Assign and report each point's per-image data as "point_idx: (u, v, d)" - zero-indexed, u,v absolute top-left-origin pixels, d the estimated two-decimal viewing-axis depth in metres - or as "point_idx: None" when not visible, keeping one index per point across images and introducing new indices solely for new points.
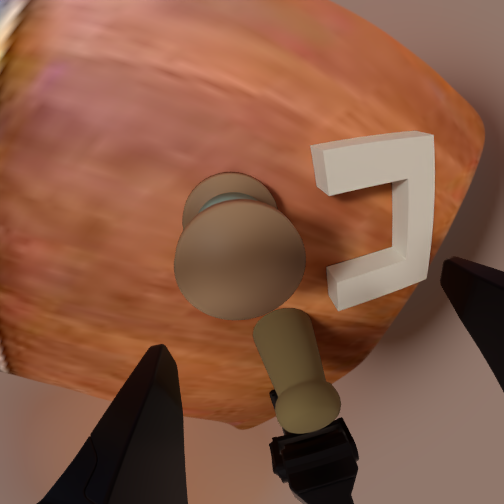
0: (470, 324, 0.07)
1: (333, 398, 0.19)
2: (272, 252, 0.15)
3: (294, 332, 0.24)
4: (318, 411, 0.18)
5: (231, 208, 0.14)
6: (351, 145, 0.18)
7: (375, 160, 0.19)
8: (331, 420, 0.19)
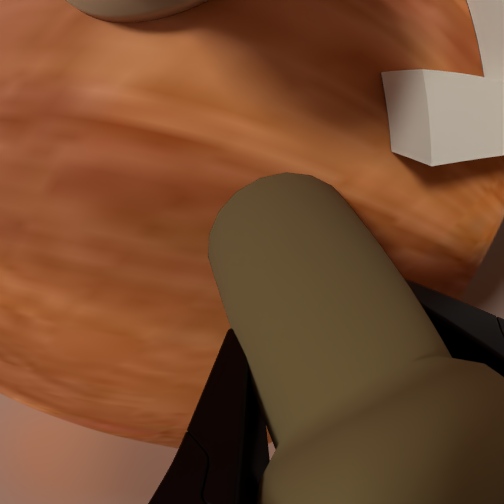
0: None
1: None
2: None
3: (324, 212, 0.08)
4: None
5: None
6: None
7: None
8: None
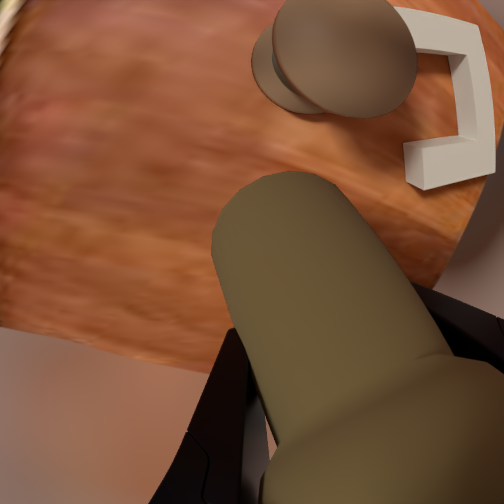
0: None
1: None
2: (385, 35, 0.09)
3: (327, 210, 0.08)
4: None
5: None
6: (416, 10, 0.12)
7: (438, 28, 0.13)
8: None
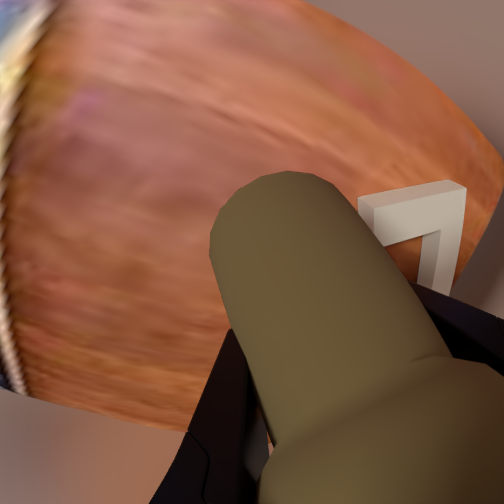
0: None
1: None
2: None
3: (325, 210, 0.08)
4: None
5: None
6: (398, 202, 0.19)
7: (416, 215, 0.19)
8: None
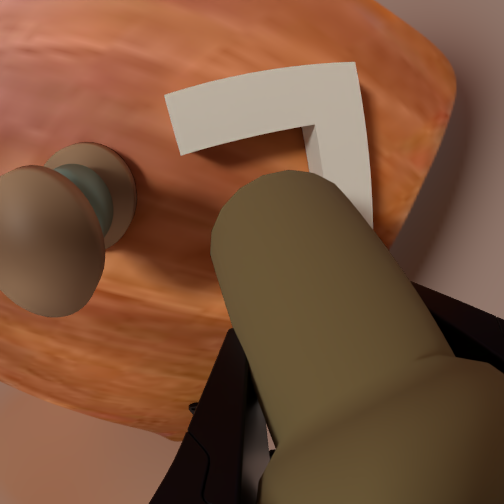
0: None
1: None
2: (51, 230, 0.09)
3: (327, 209, 0.08)
4: None
5: (2, 178, 0.08)
6: (208, 82, 0.12)
7: (250, 99, 0.13)
8: None
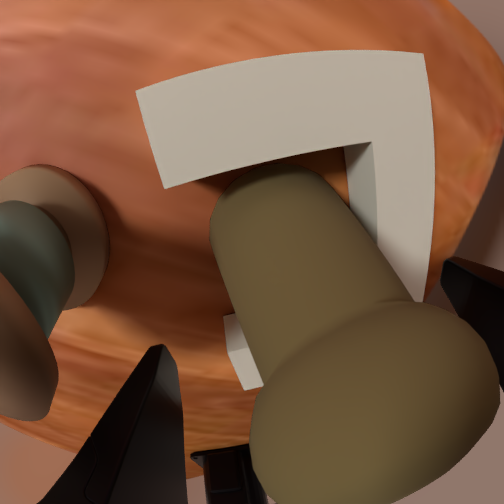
0: (470, 324, 0.07)
1: None
2: None
3: (307, 194, 0.09)
4: (459, 442, 0.02)
5: None
6: (208, 69, 0.07)
7: (276, 97, 0.08)
8: None
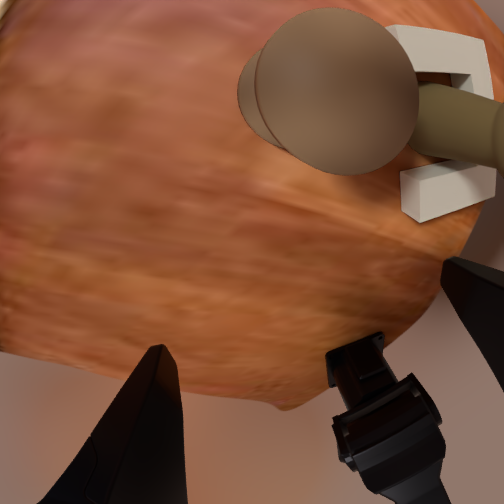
0: (470, 324, 0.07)
1: None
2: (385, 74, 0.09)
3: (456, 89, 0.13)
4: None
5: (336, 10, 0.07)
6: (418, 27, 0.12)
7: (441, 47, 0.12)
8: None
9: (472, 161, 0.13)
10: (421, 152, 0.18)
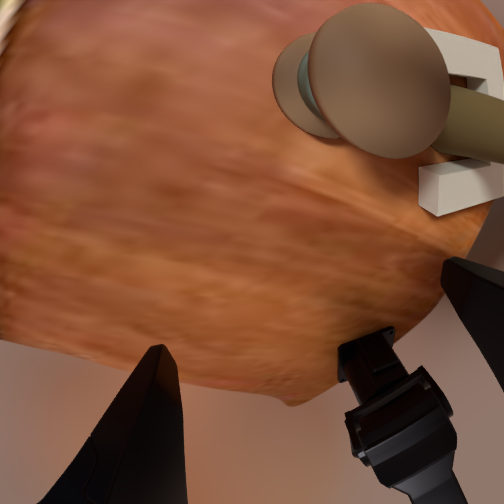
0: (470, 324, 0.07)
1: None
2: (423, 68, 0.09)
3: None
4: None
5: (384, 6, 0.07)
6: (442, 32, 0.12)
7: (461, 51, 0.12)
8: None
9: (488, 158, 0.13)
10: (439, 150, 0.18)
